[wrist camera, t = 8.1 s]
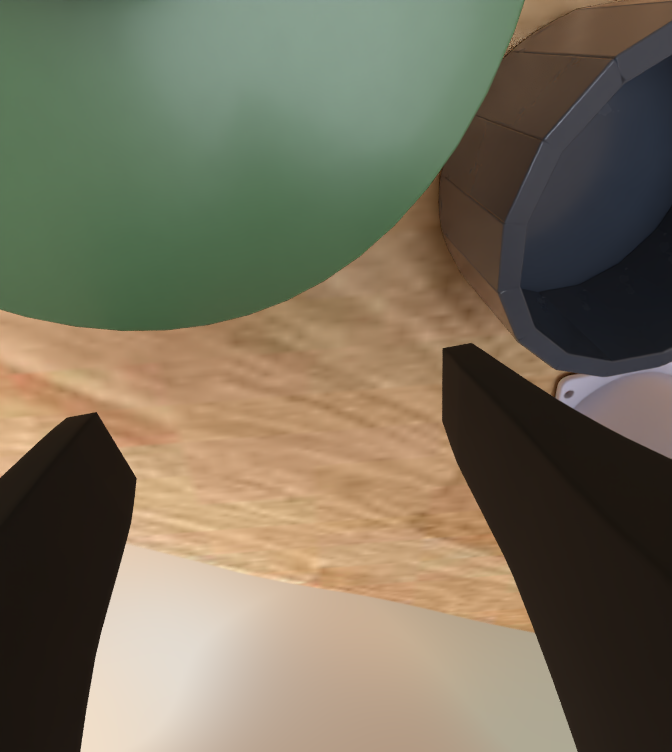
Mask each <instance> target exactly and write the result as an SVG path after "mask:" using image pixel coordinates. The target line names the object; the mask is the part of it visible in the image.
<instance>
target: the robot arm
mask: <svg viewBox="0 0 672 752" xmlns="http://www.w3.org/2000/svg"><path fill="white" fill-rule="evenodd" d="M567 391H568V392H567ZM566 392H567V393H566ZM442 422H443V425H444V427H445V430H446V433H447V436H448V439H449V442H450V445H451V448H452V450H453V453H454V456H455V459H456V461H457V463H458V465H459V468H460V470H461V472H462V474H463V476H464V478H465V480H466V482H467V484H468V486H469V488H470V490H471V492H472V494H473V496H474V498H475V500H476V502H477V504H478V506H479V507H480V509H481V511H482V513H483V515H484V517H485V519H486V521H487V523H488V525H489V527H490V529H491V531H492V533H493V535H494V537H495V539H496V541H497V543H498V545H499V547H500V549H501V551H502V553H503V555H504V557H505V559H506V561H507V564H508V566H509V568H510V570H511V572H512V575H513V577H514V579H515V582H516V585H517V587H518V590H519V592H520V595H521V597H522V600H523V603H524V605H525V608H526V610H527V613H528V615H529V618H530V620H531V623H532V626H533V628H534V631H535V634H536V636H537V639H538V642H539V644H540V647H541V650H542V652H543V655H544V658H545V660H546V663H547V666H548V669H549V671H550V674H551V677H552V679H553V682H554V685H555V688H556V691H557V694H558V696H559V699H560V702H561V705H562V708H563V710H564V713H565V716H566V719H567V722H568V725H569V728H570V730H571V733H572V736H573V739H574V742H575V745H576V748H577V751H578V752H672V362H670V363H668V364H666V365H663V366H661V367H657V368H652V369H647V370H641V371H636V372H631V373H625V374H620V375H615V376H610V377H598V376H592V375H585V374H574V375H569V376H566V377H564V378H562V379H561V380H560V381H559V383H558V386H557V391H556V396H555V397H553V396H551V395H550V394H548V393H547V392H545V391H543V390H542V389H540V388H539V387H537V386H536V385H534V384H532V383H531V382H529V381H528V380H526V379H525V378H523V377H522V376H520V375H519V374H517V373H516V372H514V371H513V370H511V369H510V368H508V367H507V366H505V365H504V364H502V363H501V362H499V361H498V360H496V359H495V358H493V357H492V356H491V355H489V354H488V353H486V352H485V351H483V350H482V349H480V348H479V347H477V346H475V345H474V344H472V343H469V344H464V345H458V346H453V347H447V348H443V373H442ZM136 479H137V478H136V477H135V475H134V473H133V472H132V470H131V468H130V467H129V465H128V463H127V462H126V460H125V458H124V457H123V455H122V453H121V452H120V450H119V448H118V447H117V445H116V444H115V442H114V440H113V439H112V437H111V435H110V434H109V432H108V430H107V429H106V427H105V425H104V424H103V422H102V420H101V419H100V417H99V415H98V414H97V412H95V413H90V414H84V415H79V416H73V417H68V418H66V419H65V420H64V421H62V422H61V423H60V424H59V425H57V426H56V427H55V428H54V429H53V430H51V431H50V432H49V433H48V434H47V435H46V436H45V437H44V438H43V439H41V440H40V441H39V442H38V443H37V444H36V445H35V446H34V447H33V448H32V449H31V450H30V451H28V452H27V453H26V454H25V455H24V456H23V457H22V458H21V459H20V460H19V461H18V462H17V463H16V464H15V465H14V466H12V467H11V468H10V469H9V470H8V471H7V472H6V473H5V474H4V475H3V476H2V477H1V478H0V752H80V749H81V742H82V736H83V728H84V721H85V715H86V708H87V702H88V697H89V690H90V685H91V679H92V673H93V668H94V662H95V656H96V652H97V648H98V644H99V639H100V635H101V631H102V627H103V624H104V620H105V617H106V613H107V609H108V605H109V602H110V599H111V595H112V591H113V588H114V584H115V581H116V577H117V573H118V570H119V566H120V563H121V559H122V555H123V552H124V548H125V544H126V541H127V537H128V533H129V529H130V525H131V520H132V513H133V506H134V497H135V488H136Z"/></svg>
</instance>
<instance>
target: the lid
mask: <svg viewBox="0 0 672 752" xmlns="http://www.w3.org/2000/svg"><path fill="white" fill-rule="evenodd" d="M524 1H525V0H0V309H1V310H4V311H7V312H11V313H14V314H18V315H21V316H25V317H29V318H34V319H39V320H44V321H49V322H55V323H60V324H65V325H70V326H75V327H86V328H97V329H107V330H118V331H148V330H172V329H180V328H188V327H196V326H204V325H210V324H214V323H218V322H222V321H226V320H230V319H235V318H239V317H243V316H247V315H250V314H253V313H255V312H258V311H261V310H263V309H266V308H269V307H271V306H274V305H276V304H279V303H282V302H284V301H287V300H289V299H291V298H293V297H295V296H297V295H298V294H300V293H302V292H304V291H306V290H308V289H310V288H312V287H314V286H316V285H318V284H319V283H321V282H323V281H325V280H326V279H328V278H329V277H331V276H332V275H334V274H335V273H336V272H338V271H339V270H341V269H342V268H344V267H345V266H347V265H348V264H349V263H351V262H352V261H354V260H355V259H357V258H358V257H360V256H361V255H362V254H363V253H364V252H365V251H366V250H368V249H369V248H370V247H371V246H372V245H373V244H374V243H375V242H377V241H378V240H379V239H380V238H381V237H382V236H383V235H384V234H386V233H387V232H388V231H389V230H390V229H391V228H392V227H393V226H395V224H396V223H397V222H398V221H399V220H400V219H401V218H402V217H403V215H404V214H405V213H406V212H407V211H408V210H409V209H410V208H411V206H412V205H413V204H414V203H415V202H416V201H417V200H418V199H419V198H420V196H421V195H422V194H423V193H424V192H425V191H426V190H427V188H428V187H429V186H430V184H431V183H432V181H433V180H434V179H435V177H436V176H437V174H438V173H439V172H440V170H441V169H442V167H443V166H444V164H445V163H446V162H447V160H448V159H449V157H450V156H451V155H452V153H453V152H454V150H455V149H456V148H457V146H458V145H459V143H460V141H461V139H462V137H463V136H464V134H465V132H466V130H467V129H468V127H469V125H470V123H471V121H472V120H473V118H474V116H475V114H476V113H477V111H478V109H479V107H480V105H481V104H482V102H483V100H484V98H485V97H486V95H487V93H488V91H489V88H490V86H491V84H492V82H493V79H494V77H495V75H496V72H497V70H498V68H499V66H500V63H501V61H502V59H503V56H504V54H505V52H506V50H507V47H508V45H509V43H510V40H511V38H512V36H513V34H514V31H515V28H516V25H517V22H518V19H519V16H520V13H521V10H522V7H523V4H524Z"/></svg>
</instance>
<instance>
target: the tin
mask: <svg viewBox="0 0 672 752" xmlns="http://www.w3.org/2000/svg"><path fill="white" fill-rule="evenodd" d="M439 215H440V222H441V227H442V232H443V236H444V239H445V242H446V245H447V247H448V250H449V252H450V254H451V255H452V257H453V259H454V261H455V263H456V264H457V266H458V269H459V271H460V273H461V274H462V275H463V277H464V278H465V279H466V280H467V281H468V283H469V284H470V285H471V286H472V287H473V289H474V290H475V291H476V292H477V293H478V295H479V296H480V297H481V298H482V299H483V301H484V302H485V303H486V304H487V306H488V307H489V308H490V309H491V310H492V312H493V313H494V314H495V315H496V316H497V318H498V319H499V320H500V321H501V322H502V324H503V325H504V326H505V327H506V328H507V330H508V331H509V332H510V333H511V335H512V336H513V337H514V338H515V339H516V341H517V342H518V343H520V344H521V345H522V346H524V347H525V348H526V349H528V350H529V351H530V352H532V353H533V354H534V355H536V356H537V357H538V358H540V359H541V360H543V361H544V362H545V363H547V364H548V365H549V366H551V367H552V368H554V369H556V370H561V371H567V372H573V373H579V374H585V375H592V376H598V377H610V376H615V375H620V374H625V373H631V372H636V371H641V370H647V369H652V368H657V367H661V366H663V365H666V364H668V363H670V362H672V0H624V1H618V2H613V3H606V4H599V5H595V6H590V7H584V8H578V9H576V10H573V11H572V12H570V13H569V14H567V15H565V16H562V17H560V18H558V19H556V20H554V21H553V22H551V23H549V24H547V25H546V26H544V27H542V28H540V29H539V30H537V31H536V32H534V33H533V34H532V35H530V36H529V37H528V38H526V39H525V40H524V41H522V42H521V43H520V44H518V45H517V46H516V47H515V48H514V49H513V50H512V51H511V52H510V53H509V54H508V55H507V56H506V57H504V58H503V59H502V61H501V63H500V66H499V68H498V70H497V72H496V75H495V77H494V79H493V82H492V84H491V86H490V88H489V91H488V93H487V95H486V97H485V98H484V100H483V102H482V104H481V105H480V107H479V109H478V111H477V113H476V114H475V116H474V118H473V120H472V121H471V123H470V125H469V127H468V129H467V130H466V132H465V134H464V136H463V137H462V139H461V141H460V143H459V145H458V146H457V148H456V149H455V150H454V152H453V153H452V155H451V156H450V157H449V159H448V160H447V162H446V163H445V164H444V166H443V168H442V173H441V179H440V187H439Z"/></svg>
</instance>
